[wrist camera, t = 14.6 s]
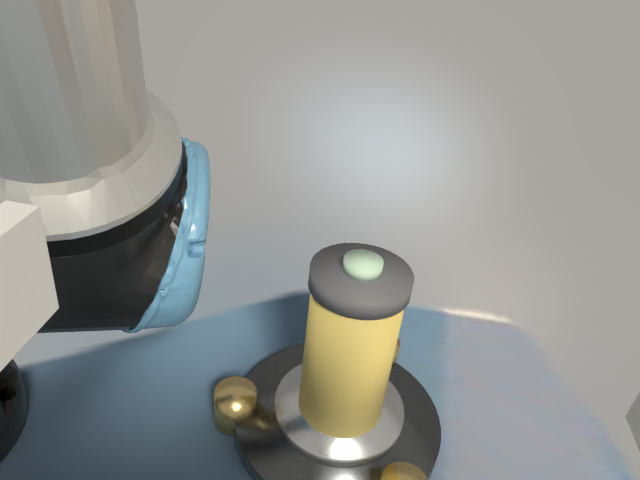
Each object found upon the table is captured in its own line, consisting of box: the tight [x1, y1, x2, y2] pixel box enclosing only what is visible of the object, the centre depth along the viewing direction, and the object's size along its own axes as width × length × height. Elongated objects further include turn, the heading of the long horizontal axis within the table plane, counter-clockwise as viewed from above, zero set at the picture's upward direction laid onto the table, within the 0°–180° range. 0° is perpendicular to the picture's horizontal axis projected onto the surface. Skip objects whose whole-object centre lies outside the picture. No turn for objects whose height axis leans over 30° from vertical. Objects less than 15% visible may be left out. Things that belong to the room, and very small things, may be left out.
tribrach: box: [214, 339, 441, 480], centre depth 43 cm, size 17×18×3 cm
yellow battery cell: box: [298, 243, 414, 438], centre depth 38 cm, size 7×7×13 cm
